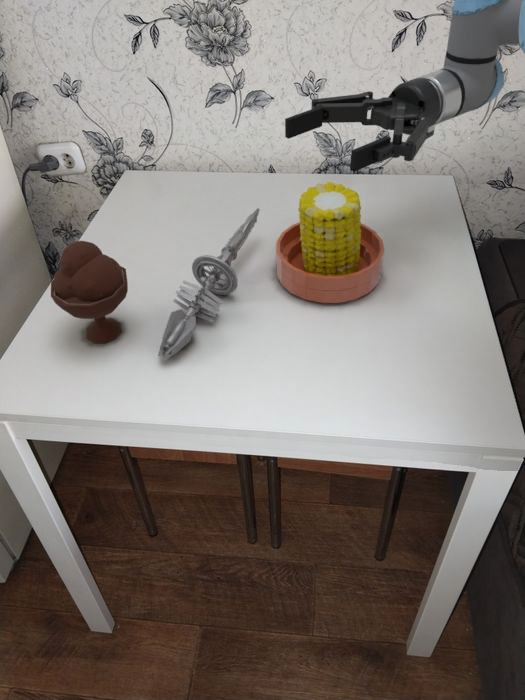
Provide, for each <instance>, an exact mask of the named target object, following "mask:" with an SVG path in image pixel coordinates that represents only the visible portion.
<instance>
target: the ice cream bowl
mask: <svg viewBox="0 0 525 700" xmlns="http://www.w3.org/2000/svg"><path fill="white" fill-rule="evenodd" d="M59 265H60V268H58V270H57V271H55V273H54V276H53V279H52V280H51V281H50V297H51V300H53V302H54V303H55V305H56V306H58V307H59V308H60V309H61V310H63V311H64V312H66V313H67V314H69V315H70V316H72V317H74V318H77V319H82V320H93V321H92V322H91V323H89V325H87V327H86V329H85V335H86V336H85V337H86V340H88V341H89V342H91V343H92V344H107V343H110V342H112V341H114V340H116V339H117V338H118V337H119V336H120V334H122V332H123V331H122V324H121V322H119V321H117V320H116V319H115V318H113V317H107V316H108V315H111V314H112V313H113V312H114V311H115V310H116V309H117V308H118V307H119V306H120V304H121V303H122V302H123V301H124V300H125V299H126V298H127V295H128V290H129V289H128V288H129V285H128V282H129V281H128V276H127V268H125V267H124V266H121V265H120V264H119V262H118V261H117V260H115V258H113V257H111V256H108V255H107V254H103V251H102V249H101V248H100V247H98V245H96V244H95V243H94V242H90V241H86V240H77V241H74V242H71V243H70V244H68V245H67V246H66V247H65V248H64V249H63V251H62V253H61V257H60V260H59Z"/></svg>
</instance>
